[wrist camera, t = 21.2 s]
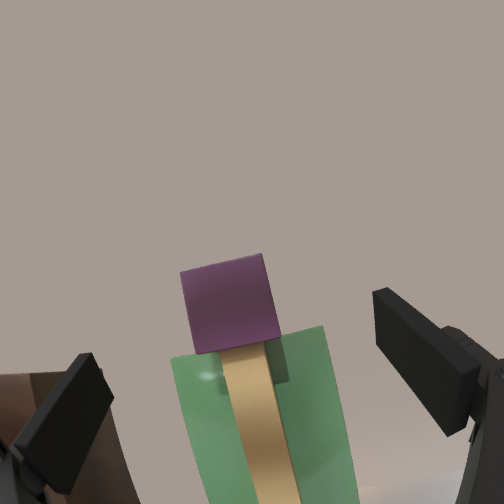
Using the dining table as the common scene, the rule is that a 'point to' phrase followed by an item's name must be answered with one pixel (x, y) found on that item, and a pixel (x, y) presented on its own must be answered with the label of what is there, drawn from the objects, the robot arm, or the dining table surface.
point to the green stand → (293, 415)
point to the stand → (99, 456)
